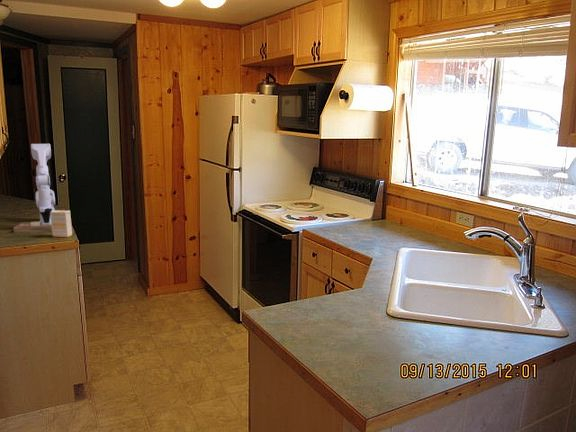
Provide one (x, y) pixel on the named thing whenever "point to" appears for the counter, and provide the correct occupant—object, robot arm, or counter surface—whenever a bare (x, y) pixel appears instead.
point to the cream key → (35, 223)
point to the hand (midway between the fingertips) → (46, 222)
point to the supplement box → (61, 223)
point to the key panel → (32, 228)
